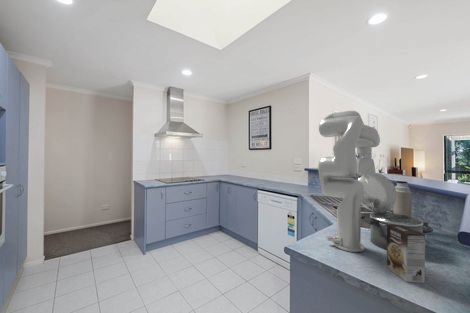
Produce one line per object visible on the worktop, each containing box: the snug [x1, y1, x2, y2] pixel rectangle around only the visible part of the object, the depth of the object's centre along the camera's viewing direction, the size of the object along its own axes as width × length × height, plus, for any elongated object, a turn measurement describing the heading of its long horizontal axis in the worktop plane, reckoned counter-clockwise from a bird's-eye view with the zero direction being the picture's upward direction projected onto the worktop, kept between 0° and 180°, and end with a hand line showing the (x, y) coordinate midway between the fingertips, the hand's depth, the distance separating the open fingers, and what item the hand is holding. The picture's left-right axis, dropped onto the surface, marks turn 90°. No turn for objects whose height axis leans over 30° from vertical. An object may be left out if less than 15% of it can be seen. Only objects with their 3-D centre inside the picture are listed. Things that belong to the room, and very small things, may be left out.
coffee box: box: [386, 225, 426, 284], centre depth 70 cm, size 9×6×16 cm
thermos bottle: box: [393, 180, 412, 217], centre depth 116 cm, size 8×8×28 cm
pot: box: [363, 212, 429, 251], centre depth 94 cm, size 26×20×13 cm
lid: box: [357, 172, 397, 213], centre depth 109 cm, size 22×21×4 cm
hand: (364, 187), depth 118 cm, fingers closed
